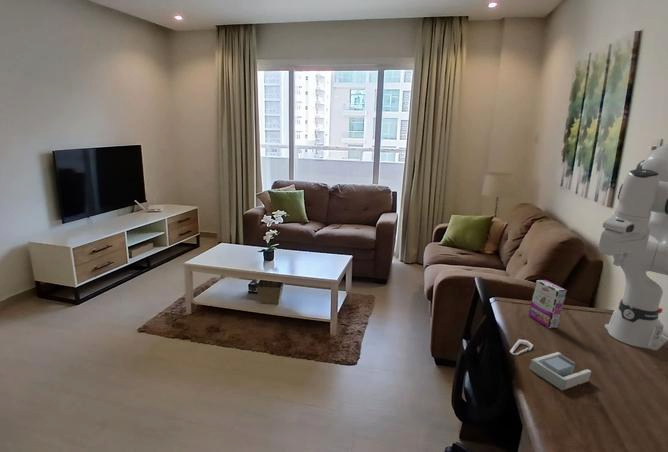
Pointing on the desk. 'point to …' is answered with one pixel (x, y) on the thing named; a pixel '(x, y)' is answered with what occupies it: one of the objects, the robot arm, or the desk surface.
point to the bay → (555, 377)
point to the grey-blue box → (560, 365)
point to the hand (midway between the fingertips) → (618, 264)
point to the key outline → (521, 343)
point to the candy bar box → (547, 303)
